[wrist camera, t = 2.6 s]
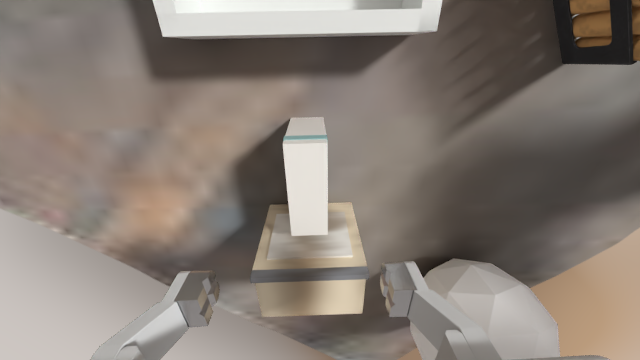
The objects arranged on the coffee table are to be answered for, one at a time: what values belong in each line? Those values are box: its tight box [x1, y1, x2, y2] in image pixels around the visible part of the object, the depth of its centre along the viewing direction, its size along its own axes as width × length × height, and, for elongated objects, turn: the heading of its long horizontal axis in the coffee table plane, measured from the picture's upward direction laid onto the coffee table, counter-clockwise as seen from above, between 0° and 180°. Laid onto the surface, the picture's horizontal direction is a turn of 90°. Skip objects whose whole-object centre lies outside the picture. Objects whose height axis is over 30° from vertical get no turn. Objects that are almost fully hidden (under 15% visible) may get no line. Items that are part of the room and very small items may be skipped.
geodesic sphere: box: [410, 258, 560, 360], centre depth 27 cm, size 15×14×14 cm
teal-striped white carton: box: [283, 117, 328, 236], centre depth 21 cm, size 3×8×7 cm, turn 1°
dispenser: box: [250, 202, 369, 317], centre depth 24 cm, size 9×6×10 cm
